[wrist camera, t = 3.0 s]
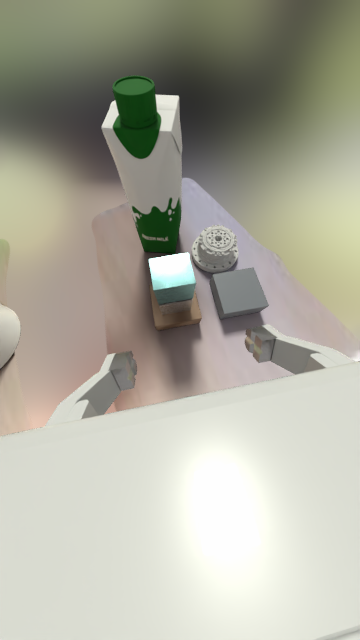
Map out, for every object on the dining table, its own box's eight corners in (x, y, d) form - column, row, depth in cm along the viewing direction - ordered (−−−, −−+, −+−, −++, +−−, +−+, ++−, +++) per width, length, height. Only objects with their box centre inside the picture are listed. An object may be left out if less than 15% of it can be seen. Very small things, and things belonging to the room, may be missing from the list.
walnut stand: (157, 330, 27) (155, 326, 24) (152, 292, 29) (149, 284, 27) (199, 322, 28) (201, 318, 25) (190, 286, 30) (191, 277, 27)
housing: (162, 314, 25) (153, 290, 17) (158, 292, 26) (148, 259, 18) (190, 309, 25) (195, 283, 17) (185, 287, 26) (188, 252, 18)
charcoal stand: (219, 319, 28) (224, 313, 25) (209, 283, 30) (212, 274, 27) (259, 311, 28) (268, 305, 25) (246, 276, 31) (253, 267, 28)
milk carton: (139, 254, 32) (80, 94, 13) (146, 223, 35) (106, 54, 16) (178, 257, 32) (176, 99, 13) (182, 226, 35) (185, 57, 16)
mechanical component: (190, 272, 31) (236, 275, 31) (191, 257, 27) (245, 261, 27) (192, 236, 34) (235, 238, 34) (194, 218, 30) (242, 220, 30)
